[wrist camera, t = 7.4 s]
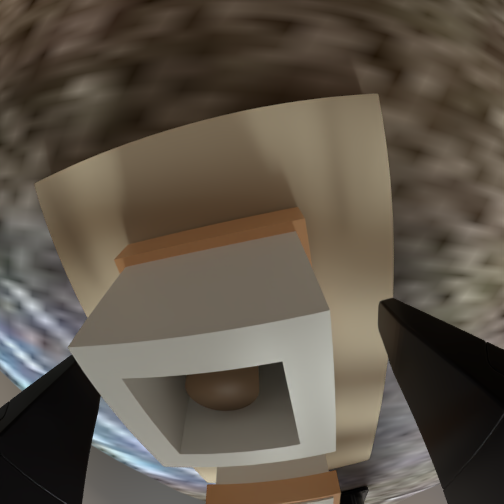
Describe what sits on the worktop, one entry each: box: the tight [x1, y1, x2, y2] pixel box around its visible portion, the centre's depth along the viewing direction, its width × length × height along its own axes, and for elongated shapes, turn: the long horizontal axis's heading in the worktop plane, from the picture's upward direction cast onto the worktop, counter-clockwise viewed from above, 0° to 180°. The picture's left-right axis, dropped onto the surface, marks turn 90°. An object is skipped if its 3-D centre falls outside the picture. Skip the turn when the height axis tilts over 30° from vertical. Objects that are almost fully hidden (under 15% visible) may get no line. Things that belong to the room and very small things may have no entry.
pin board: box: [34, 94, 394, 483], centre depth 11 cm, size 22×12×5 cm, turn 12°
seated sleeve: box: [206, 454, 341, 504], centre depth 12 cm, size 6×6×5 cm
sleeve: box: [68, 207, 336, 467], centre depth 8 cm, size 6×6×5 cm
